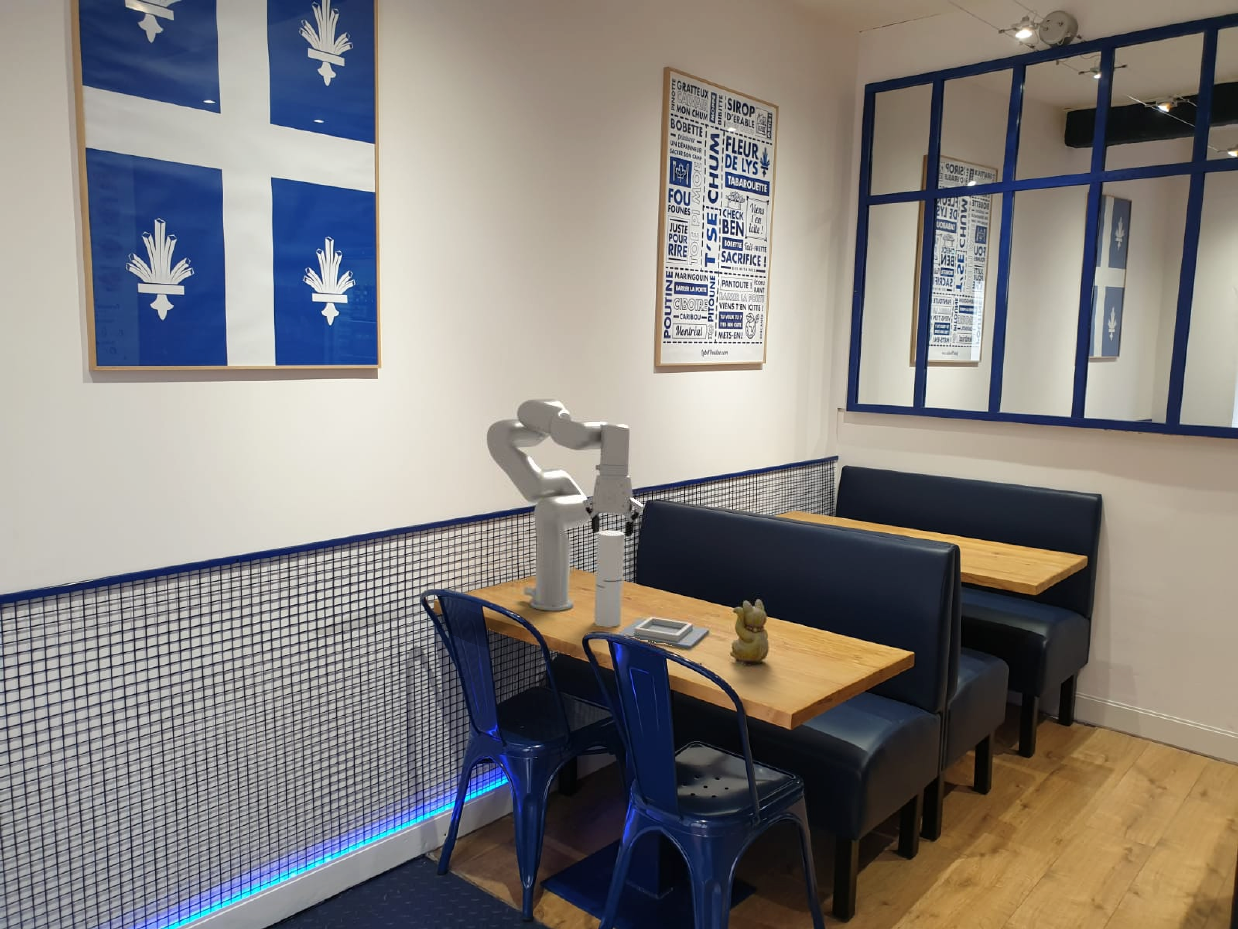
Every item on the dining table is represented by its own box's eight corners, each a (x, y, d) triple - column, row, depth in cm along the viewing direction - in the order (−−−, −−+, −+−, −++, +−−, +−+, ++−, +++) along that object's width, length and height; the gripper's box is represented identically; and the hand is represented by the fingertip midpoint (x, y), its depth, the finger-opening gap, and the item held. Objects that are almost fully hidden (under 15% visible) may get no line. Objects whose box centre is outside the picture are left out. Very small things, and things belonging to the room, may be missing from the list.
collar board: (616, 637, 244) (617, 628, 243) (639, 621, 258) (639, 612, 258) (690, 649, 236) (690, 640, 236) (709, 632, 251) (709, 623, 251)
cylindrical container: (617, 628, 251) (621, 536, 248) (591, 625, 253) (595, 534, 250) (622, 621, 258) (626, 531, 255) (597, 618, 260) (601, 529, 257)
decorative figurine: (752, 653, 235) (755, 595, 233) (777, 662, 229) (781, 603, 227) (725, 660, 229) (728, 600, 227) (750, 670, 223) (753, 608, 221)
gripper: (578, 469, 250) (576, 533, 252) (639, 474, 243) (636, 539, 245) (590, 466, 257) (588, 528, 259) (649, 471, 250) (647, 535, 252)
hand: (612, 534), depth 252 cm, fingers open, 9 cm apart
